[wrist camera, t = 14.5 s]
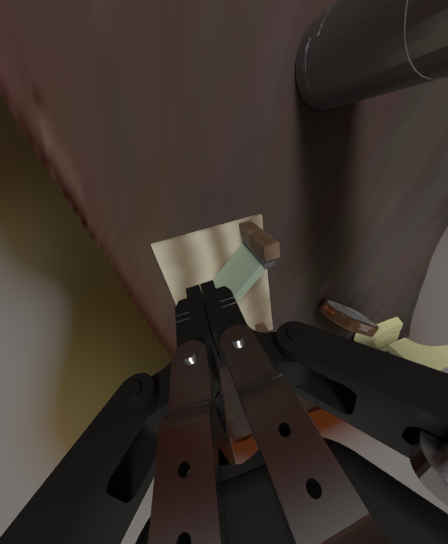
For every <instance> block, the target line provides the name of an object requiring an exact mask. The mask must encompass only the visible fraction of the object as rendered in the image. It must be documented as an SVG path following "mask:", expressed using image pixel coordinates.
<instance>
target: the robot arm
mask: <svg viewBox="0 0 448 544" xmlns="http://www.w3.org/2000/svg"><path fill="white" fill-rule="evenodd" d="M295 72H296V82H297V87H298V91H299V93H300V95H301V97H302V99H303V100H304V101H305V103H306V104H307V105H308V106H310V107H311V108H313V109H316V110H327V109H331V108H335V107H338V106H342V105H346V104H350V103H354V102H357V101H361V100H365V99H368V98H372V97H375V96H379V95H383V94H386V93H390V92H394V91H397V90H401V89H405V88H408V87H412V86H416V85H419V84H423V83H427V82H430V81H434V80H438V79H441V78H444V77H448V0H336V1H335V2H334V3H333V4H332V5H331V6H330V7H329V8H328V9H326V10H325V11H324V12H323V13H322V14H321V15H320V16H319V17H318V18H317V19H315V20H314V21H313V23H312V24H311V25H310V27H309V28H308V29H307V31H306V33H305V35H304V37H303V38H302V41H301V44H300V47H299V49H298V54H297V59H296V71H295ZM200 287H201V289H200ZM186 295H187V298H185V299H182V300H179V301H178V303H177V305H176V307H175V314H176V334H177V349H176V350H175V351H174V353H173V356H172V361H171V362H170V363H169V364H168V365H167V366H166V367H165V368H164V369H162V370H161V371H159V372H158V373H156V374H155V375H153V376H152V377H151V376H150V375H149V374H147V373H138V374H135V375H133V376H131V377H129V378H128V379H127V380H126V381H125V382H124V383H123V384H122V385H121V386H120V387H119V388H118V390H117V391H116V392H115V393H114V395H113V396H112V397H111V399H110V400H109V401H108V402H107V403H106V405H105V406H104V407H103V408H102V410H101V411H100V412H99V414H98V415H97V416H96V417H95V419H94V420H93V421H92V422H91V424H90V425H89V426H88V428H87V429H86V430H85V431H84V432H83V434H82V435H81V436H80V438H79V439H78V440H77V441H76V443H75V444H74V445H73V446H72V448H71V449H70V450H69V452H68V453H67V454H66V455H65V457H64V458H63V459H62V460H61V462H60V463H59V464H58V465H57V467H56V468H55V469H54V470H53V472H52V473H51V474H50V475H49V477H48V478H47V479H46V480H45V482H44V483H43V484H42V485H41V487H40V488H39V489H38V491H37V492H36V493H35V494H34V496H33V497H32V498H31V499H30V501H29V502H28V503H27V505H26V506H25V507H24V508H23V509H22V511H21V512H20V513H19V515H18V516H17V517H16V518H15V520H14V521H13V522H12V523H11V525H10V526H9V527H8V528H7V530H6V531H5V532H4V533H3V535H2V536H1V537H0V544H120V543H121V541H122V539H123V537H124V535H125V533H126V531H127V529H128V527H129V526H130V524H131V521H132V520H133V518H134V516H135V514H136V512H137V510H138V508H139V506H140V504H141V502H142V500H143V498H144V496H145V494H146V492H147V490H148V488H149V486H150V484H151V482H152V480H153V478H154V485H153V496H152V506H151V516H150V518H149V519H148V521H147V522H146V524H145V526H144V528H143V530H142V531H141V533H140V535H139V537H138V539H137V542H136V543H135V544H448V514H447V513H446V512H444V511H443V510H441V509H440V508H438V507H437V506H435V505H434V504H432V503H431V502H429V501H428V500H426V499H425V498H423V497H422V496H420V495H419V494H417V493H416V492H414V491H413V490H411V489H410V488H408V487H407V486H405V485H404V484H402V483H401V482H399V481H398V480H396V479H395V478H393V477H392V476H390V475H389V474H387V473H386V472H384V471H382V470H381V469H380V468H378V467H377V466H375V465H374V464H372V463H371V462H369V461H368V460H366V459H365V458H364V457H362V456H361V455H359V454H358V453H356V452H355V451H353V450H351V449H350V448H348V447H346V446H344V445H342V444H340V443H338V442H335V441H333V440H330V439H327V438H323V437H322V436H321V434H320V433H319V431H318V429H317V427H316V426H315V424H314V423H313V421H312V419H311V418H310V416H309V415H308V413H307V411H306V410H305V408H304V406H303V405H302V403H301V402H300V400H299V398H298V397H297V395H299V396H301V397H303V398H304V399H306V400H308V401H310V402H311V403H313V404H315V405H317V406H319V407H320V408H322V409H324V410H326V411H327V412H329V413H331V414H333V415H335V416H336V417H338V418H340V419H341V420H343V421H345V422H347V423H348V424H350V425H352V426H354V427H355V428H357V429H359V430H361V431H362V432H364V433H366V434H368V435H370V436H371V437H373V438H375V439H376V440H378V441H380V442H382V443H383V444H385V445H387V446H389V447H391V448H392V449H394V450H396V451H398V452H399V453H401V454H403V455H405V456H406V457H408V458H410V462H411V465H412V468H413V470H414V472H415V474H416V475H417V477H418V478H419V480H420V481H421V482H422V483H423V485H424V486H425V487H426V488H427V489H428V490H429V491H430V492H431V493H432V494H433V495H434V496H436V497H437V498H438V499H440V500H441V501H442V502H444V503H445V504H446V505H448V374H447V373H445V372H442V371H439V370H436V369H433V368H430V367H428V366H425V365H422V364H419V363H416V362H413V361H410V360H408V359H405V358H402V357H399V356H396V355H393V354H390V353H387V352H385V351H382V350H379V349H376V348H373V347H370V346H367V345H365V344H362V343H359V342H356V341H353V340H350V339H347V338H345V337H342V336H339V335H336V334H333V333H330V332H327V331H325V330H322V329H319V328H316V327H313V326H310V325H307V324H304V323H301V322H296V321H292V322H287V323H284V324H283V325H281V326H280V327H279V328H278V330H277V332H267V333H263V332H258V331H255V330H253V329H251V328H250V327H249V326H248V325H247V323H246V321H245V319H244V317H243V314H242V312H241V310H240V308H239V306H238V304H237V301H236V299H235V298H234V295H233V293H232V291H231V290H230V289H229V288H228V287H226V286H222V287H219V288H215V285H214V282H213V280H211V281H207V282H204V283H201V284H200V286H199V284H198V285H195V286H192V287H189V288H186ZM220 356H221V358H220ZM221 359H222V362H223V365H224V367H226V366H228V369H229V371H230V374H231V377H232V380H233V383H234V386H235V389H236V391H237V394H238V397H239V399H240V402H241V405H242V407H243V410H244V413H245V415H246V418H247V421H248V423H249V426H250V429H251V432H252V434H253V437H254V440H255V442H256V445H257V448H258V451H257V452H256V453H255V454H254V455H252V456H251V457H250V458H249V459H248V460H246V461H245V462H244V463H242V464H237V465H236V462H235V457H234V453H233V449H232V444H231V441H230V436H229V430H228V424H227V417H226V411H225V404H224V398H223V391H222V386H221V380H220V375H219V371H218V369H221V368H223V366H222V362H221ZM295 393H296V394H297V395H296V394H295Z"/></svg>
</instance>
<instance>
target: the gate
mask: <svg viewBox="0 0 448 544" xmlns="http://www.w3.org/2000/svg"><path fill="white" fill-rule="evenodd" d="M243 243H244V244H243ZM243 243H242V244H241V245H240V246H239V248H238V249H237V250H236V251H235V253H234V254H233V255H232V257H231V258H230V259H229V260H228V262H227V263H226V264H225V265H224V267H223V268H222V269H221V271H220V272H219V273H218V274H217V276H216V277H215V278H214V280H213V282H214V285H215V288H219V287H222V286H226V287H228V288H229V289H230V290H231V291H232V293H233V295H234V298H235V299H236V301H237V303H238V302H239V301H240V299H241V298H242V297H243V296H244V295H245V294H246V292H247V291H248V290H249V289H250V288H251V287H252V285H253V284H254V283H255V282H256V281H257V280H258V278H259V277H260V276H261V275H262V274H263V273H264V271H265V270H266V269H269V268H272V267H273V266H274V264H275V260H274V259H272V260H269V261H266V262H265V261H264V260H263V259H262V258H261V257H260V256H259V255H258V253H257V252H256V251H255V250H254V249H253V248H252V247H251V246H250V245H249V244H248V243H247V242H246V240H245V239H244V240H243Z"/></svg>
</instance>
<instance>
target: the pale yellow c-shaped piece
mask: <svg viewBox="0 0 448 544" xmlns="http://www.w3.org/2000/svg"><path fill="white" fill-rule="evenodd" d="M376 325H377V326H378V327H379V329H378V331H377V332H376V333H375V334H374V336H373V337H369V336H365V335H362V334H359V333H356V334H355V337H354V341H356V342H359V343H362V344H365V345H367V346H370V347H373V348H376V349H379V350H382V351H385V352H386V351H388V352H390V354H393V355H396V356H399V357H402V358H405V359H408V360H410V361H413V362H416V363H419V364H422V365H425V366H428V367H430V368H433V369H436V370H439V371H441V369H443V368H446V367H448V345H446V346H434V347H433V346H425V345H421V344H418V343H415V342H413V341H411V340H409V339H407V338H403V339H401V340H398V341H397V339H398V336H399V333H400V332H399V330H401V328H402V325H403V323H402V322H401V321H400V319H399V318H398V317H395V318H392V319H389V320H387V321H384V322H381V323H379V324H376Z"/></svg>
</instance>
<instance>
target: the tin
mask: <svg viewBox="0 0 448 544" xmlns="http://www.w3.org/2000/svg"><path fill="white" fill-rule="evenodd" d="M318 308H319V310H320V311H321V312H322V313H323V314H324V315H325V316H326V317H327V318H329V319H330V320H332V321H333V322H335V323H336V324H338V325H339V326H341V327H343V328H345V329H347V330H350V331H353V332H356V333H359V334H362V335H365V336H369V337H373V336H374V334H375V333H376V332H377V331H378V329H379V327H378V326H377V325H376V324H375V323H373V322H371V321H370V320H369V319H367V318H366V317H365V316H364V315H362V314H361V313H359V312H357V311H356V310H354V309H352V308H350V307H347V306H345V305H342V304H340V303H337V302H335V301H332V300H329V299H325V300H324V301H323V302H322V304H321V305H320V306H319V307H318Z"/></svg>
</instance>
